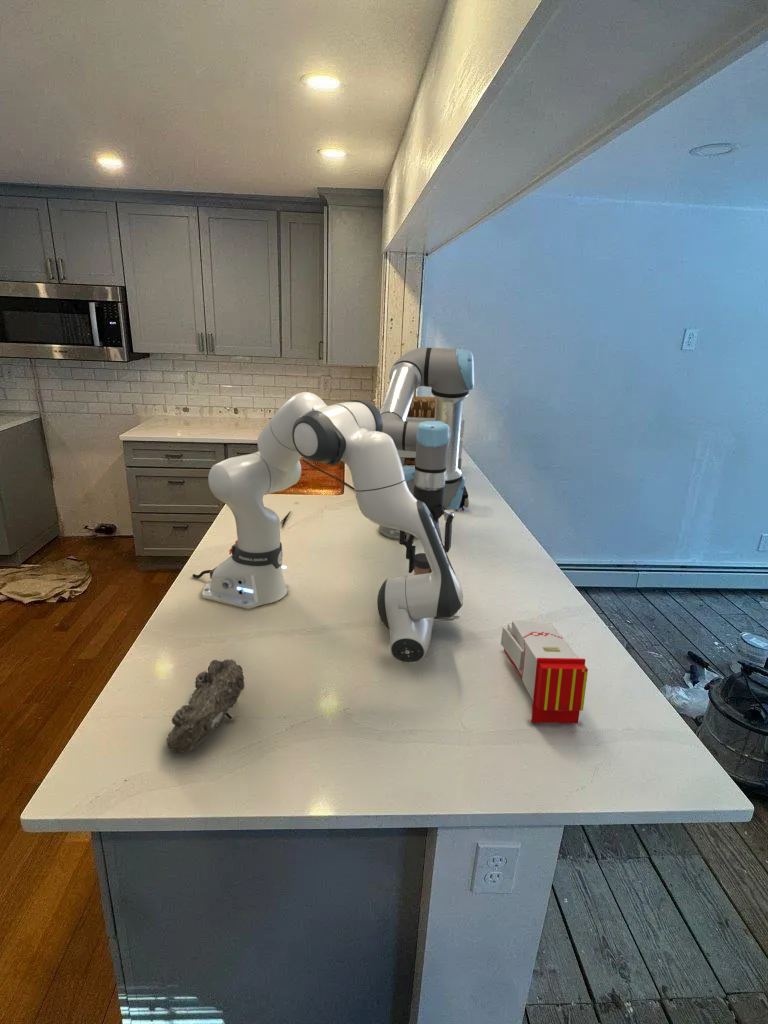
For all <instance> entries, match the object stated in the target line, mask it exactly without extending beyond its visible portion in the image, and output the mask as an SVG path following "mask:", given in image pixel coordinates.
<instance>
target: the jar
mask: <svg viewBox="0 0 768 1024" xmlns="http://www.w3.org/2000/svg"><path fill="white" fill-rule="evenodd" d="M431 572H432V570H431V567H430V568H419V567H416V566H415V565H414V570H413V575H419V574H427V573H431Z"/></svg>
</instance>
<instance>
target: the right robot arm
mask: <svg viewBox="0 0 768 1024" xmlns="http://www.w3.org/2000/svg"><path fill="white" fill-rule="evenodd" d="M474 363H475V361H474V355H473V352H472V351H470V350H468V349H459V348H457V347H456V348H451V347H450V348H449V347H427V346H426V347H425V346H423V347H416V348H414V349H411V350H410V351H407V352H405V353H404V354H403V355H401V356H400V357H399V358H397V360H395V362H394V363H393V364H392V367H391V369H390V371H389V375H388V378H389V384H388V387H387V389H386V392H385V395H384V398H383V401H382V403H381V405H380V408H379V411H380V413H381V416H382V419H383V430H382V432H383V433H386V434H388V435H389V436H390V437H391V438H392V439H393V441H394V444H395V446H396V448H397V450H403V451H412V452H416V463H415V466H404V467H403V470H404V475H405V479H406V483H407V486H408V488H409V490H410V492H411V493H412V495H413V496H414V497H415V498H416V499H417V500H418V501H421V502H424V503H425V504H426V506H427V507H428V509H429V511H430V513H431V515H432V517H433V520H434V522H435V525H436V527H437V529H438V532H439V534H440V537H441V540H442V541H443V538H442V533H441V528H440V521H439V520H440V518H441V517H442V516H443V519H444V521H445V524H444V542H443V545H444V548H445V550H446V553H449V551H450V550H451V548H452V533H453V532H452V531H453V521H454V518H455V516H456V513H455V512H453V511H456V509H457V510H458V509H460V508H459V506H460V502H461V499H462V494H463V489H464V486H466V485H465V484H466V477H465V476H463V474H462V469H461V470H460V469H459V468H458V456H459V444H460V439H461V438H460V432H461V419H463V408H464V407H463V406H464V400H465V399H466V398H467V397H468V396H469V394H470V393H469V392H470V391H472V390H474V388H475V364H474ZM419 387H427V388H428V387H429V388H430V389H431V391H430V392H431V393H430V394H431V395H432V397H435V398H436V403H435V420H434V421H424V422H409V421H406V418H407V415H408V411H409V408H410V405H411V401H412V398H413V396H414V394H415V391H416V390H417V389H418V388H419ZM302 462H304V463H305V464H307V465H308V466H310V467H312V468H313V469H315V470H317V471H319V472H321V473H323V474H325V475H327V476H329V477H331V478H332V479H335V480H337V481H338V482H340V483H341V484H344V485H345V486H347V487H349V488H350V489H352V490H353V491H354V486H352V485H350V484H349V483H347V482H345V481H344V480H342V479H341V478H338V477H336V476H334V475H332V474H330V473H328V472H326V471H325V470H322V469H320V468H318V467H316V466H315V465H313V464H311V463H310V462H308V460H306V459H305V458H302ZM448 510H449V511H448ZM450 511H452V512H450ZM378 533H379V534H380V535H381V536H382V537H385V538H387V539H389V540H395V541H399V542H398V543H399V545H400V546H404V547H405V559H406V560H408V573H409V574H412V573H413V572H414V564H413V556H414V555H415V554H416V545H413V544H414V542H415V539H417V538H416V537H415V536H414V535H412V534H410V533H408V532H405V531H402V530H398V529H393V528H388V527H383V526H380V525H379V527H378Z"/></svg>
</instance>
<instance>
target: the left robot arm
mask: <svg viewBox="0 0 768 1024" xmlns="http://www.w3.org/2000/svg"><path fill="white" fill-rule="evenodd" d="M382 430H383V419H382V416H381V413H380V409H379V408H378V407H377V406H376V405H375V404H373V403H371V402H370V401H366V400H359V399H358V400H357V399H355V400H354V399H353V400H349V401H348V400H347V401H342V402H337V403H333V404H331V405H327V404H326V403H325V402H324V400H323V399H322V398H321V397H319V396H318V395H316V394H315V393H313V392H308V391H302V392H298V393H296V394H294V395H293V396H292V397H291V398H289V399H288V400H287V401H286V402H285V403H283V404H282V405H281V406H280V407H279V408H278V410H276V412H275V413H274V414H273V415H272V417H271V418H270V419H269V421H268V422H267V424H265V426H264V428H263V429H262V430H261V432H260V433H259V434H258V437H257V450H258V451H255V452H253V453H249V454H243V455H238V456H232V457H228V458H226V459H223V460H222V461H219V462H218V463H215V464H213V465H212V466H211V468H210V470H209V473H208V477H207V478H208V479H207V483H208V487H209V490H210V492H211V494H212V495H213V496H214V497H215V498H216V499H217V500H218V501H220V502H221V503H223V504H225V505H226V506H227V507H228V508H229V509H230V511H231V512H232V515H233V517H234V519H235V527H236V537H237V539H236V540H235V543H234V544H233V545H231V548H229V550H228V552H229V553H228V555H229V556H230V557H228V558H227V559H225V560H223V561H222V562H221V563H219V565H217V566H215V567H214V568H213V569H205V570H202V571H201V572H200V573H199V574H196V573H193V574H192V575H191V576H192V578H194V579H200V578H202V577H203V576H205V575H207V574H209V579H210V580H209V581H208V582H207V583H206V584H205V585H204V587H203V589H202V593H201V594H202V598H203V599H207V600H210V601H213V602H214V601H215V602H218V603H222V604H227V605H231V606H235V607H239V608H242V609H246V610H247V609H249V610H250V609H254V608H257V607H259V606H262V605H263V606H264V605H268V604H272V603H275V602H278V601H280V600H282V599H283V598H285V596H286V595H287V593H288V587H287V584H286V582H285V578H284V577H285V576H284V573H283V569H287V566H286V565H282V564H283V558H284V557H283V556H284V553H283V543H282V542H281V523H280V522H281V521H280V520H281V519H280V517H279V515H278V514H277V512H275V511H274V510H273V509H271V508H269V507H266V506H265V504H264V499H263V498H264V496H266V495H270V494H271V495H272V494H275V493H278V492H282V491H285V490H286V489H289V488H291V487H292V486H294V485H296V484H297V483H298V482H299V481H300V479H301V476H302V464H301V459H304V460H306V461H310V462H315V463H323V464H327V465H330V466H336V465H338V464H339V463H340V461H341V462H343V463H344V464H345V465H346V466H347V467H348V469H349V472H350V475H351V480H352V485H353V486H352V487H353V488H354V490H353V491H354V495H355V499H356V503H357V506H358V508H359V511H360V513H361V514H362V515H363V516H364V517H365V518H366V519H367V520H368V521H370V522H371V523H373V524H376V525H377V526H379V527H380V526H383V527H388V528H393V529H398V530H402V531H405V532H408V533H410V534H412V535H414V536H415V537H416V538H415V539H417V540H418V541H419V543H420V544H421V547H422V549H423V553H425V555H426V557H427V560H428V562H429V565H430V567H431V570H432V572H431V573H427V574H419V575H414V574H412V575H401V576H395V577H388V578H386V579H385V580H384V581H383V583H382V584H381V585H380V587H379V589H378V593H377V599H376V605H377V607H376V608H377V611H378V616H379V621H380V623H382V624H383V625H384V627H385V628H386V629H387V630H389V649H390V652H391V655H392V657H394V658H395V659H396V660H398V661H399V662H402V663H416V662H419V661H421V660H422V659H423V658H424V657H425V655H426V654H427V652H428V649H429V648H430V647H429V646H430V644H431V640H432V635H433V634H432V633H433V631H432V630H433V627H434V622H435V620H438V621H446V622H452V621H455V620H458V619H460V617H461V611H460V610H461V608H462V607H463V605H464V590H463V587H462V584H461V582H460V580H459V578H458V576H457V574H456V572H455V570H454V567H453V566H452V564H451V561H450V559H449V556H448V552H446V550H445V548H444V542H443V539H442V540H441V538H442V536H441V537H440V534H439V532H438V529H437V527H436V525H435V522H434V520H433V517H432V515H431V513H430V511H429V509H428V507H427V506H426V504H425V503H424V502H421V501H418V500H417V499H416V498H415V497H414V496H413V495H412V493H411V492H410V490H409V488H408V486H407V483H406V479H405V475H404V470H403V466H402V463H401V460H400V457H399V454H398V451H397V448H396V446H395V444H394V441H393V439H392V438H391V437H390V436H389V435H388V434H386V433H383V432H382Z"/></svg>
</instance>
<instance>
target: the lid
mask: <svg viewBox="0 0 768 1024" xmlns="http://www.w3.org/2000/svg"><path fill="white" fill-rule="evenodd" d="M413 564H414V565H415V566H416V567H419V568H430V565H429V562H428V560H427V557H426V555H425V552H419V553H415V555H414V556H413Z"/></svg>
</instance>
